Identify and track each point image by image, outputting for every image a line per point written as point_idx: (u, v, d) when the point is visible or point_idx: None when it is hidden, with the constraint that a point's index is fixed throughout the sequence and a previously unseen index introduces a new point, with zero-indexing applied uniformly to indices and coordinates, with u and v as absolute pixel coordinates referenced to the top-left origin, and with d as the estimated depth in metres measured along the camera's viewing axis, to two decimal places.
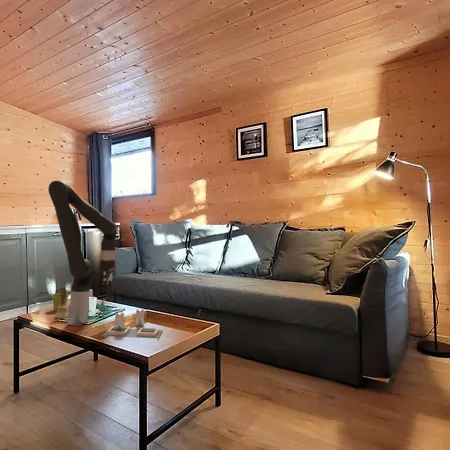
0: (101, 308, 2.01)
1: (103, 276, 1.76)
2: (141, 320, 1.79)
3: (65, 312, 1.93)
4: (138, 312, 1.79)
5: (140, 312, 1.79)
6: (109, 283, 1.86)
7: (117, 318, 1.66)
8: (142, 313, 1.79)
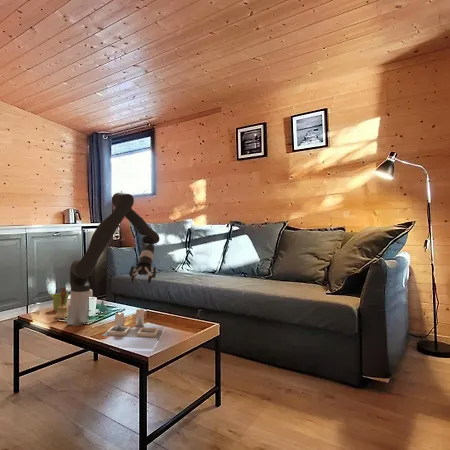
0: (101, 308, 2.01)
1: (155, 271, 1.97)
2: (141, 320, 1.79)
3: (65, 312, 1.93)
4: (138, 312, 1.79)
5: (140, 312, 1.79)
6: (134, 278, 1.94)
7: (117, 318, 1.66)
8: (142, 313, 1.79)
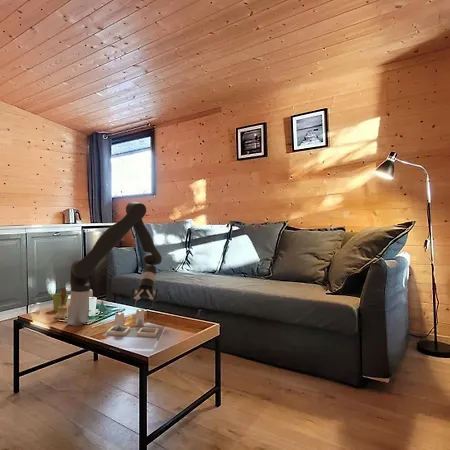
0: (101, 308, 2.00)
1: (157, 294, 1.90)
2: (141, 320, 1.79)
3: (65, 312, 1.93)
4: (138, 312, 1.79)
5: (140, 312, 1.79)
6: (135, 301, 1.87)
7: (117, 318, 1.66)
8: (142, 313, 1.79)
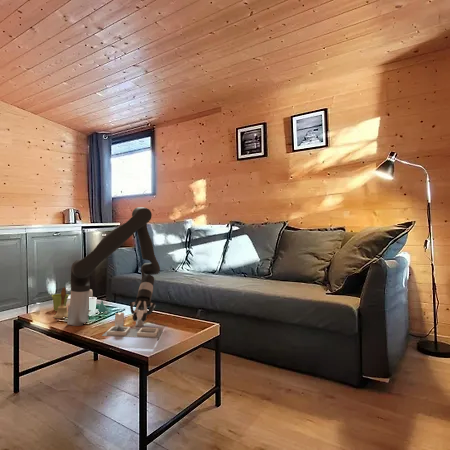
0: (100, 308, 2.00)
1: (153, 307, 1.84)
2: (141, 320, 1.79)
3: (65, 312, 1.93)
4: (138, 312, 1.79)
5: (140, 312, 1.79)
6: None
7: (117, 318, 1.66)
8: (142, 313, 1.79)
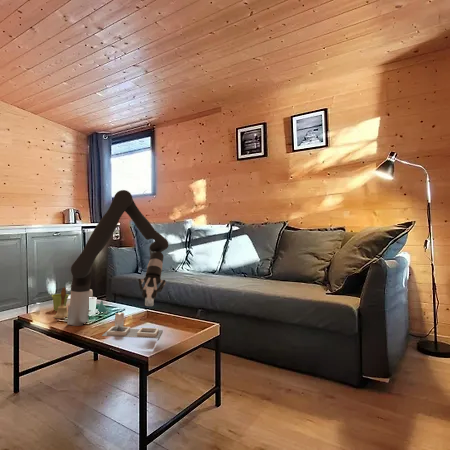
0: (100, 308, 2.00)
1: (163, 284, 1.73)
2: (151, 297, 1.68)
3: (65, 312, 1.93)
4: (148, 289, 1.68)
5: (150, 289, 1.68)
6: (145, 292, 1.70)
7: (117, 318, 1.66)
8: (152, 290, 1.69)
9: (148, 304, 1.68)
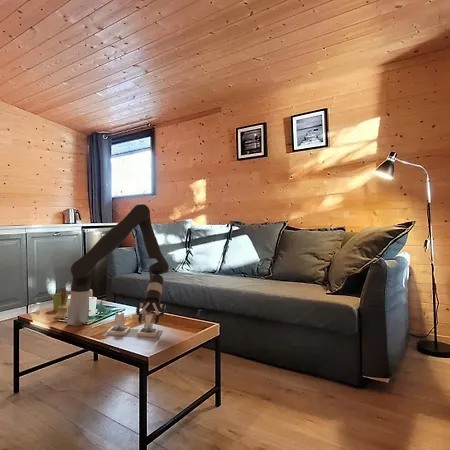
0: (100, 308, 2.00)
1: (164, 308, 1.72)
2: (150, 325, 1.66)
3: (65, 312, 1.93)
4: (147, 317, 1.66)
5: (149, 317, 1.66)
6: (142, 316, 1.68)
7: (117, 318, 1.66)
8: (151, 318, 1.67)
9: (147, 332, 1.66)
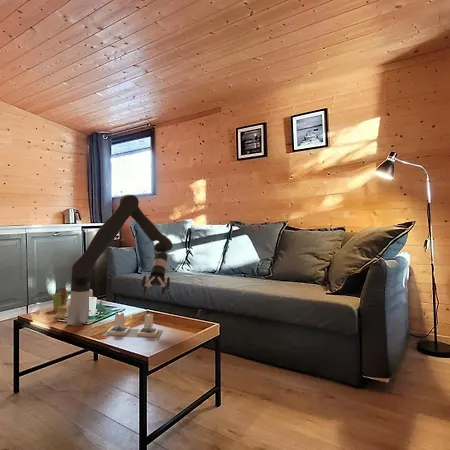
0: (99, 308, 1.99)
1: (169, 281, 1.83)
2: (150, 326, 1.66)
3: (65, 312, 1.93)
4: (147, 317, 1.66)
5: (149, 317, 1.66)
6: None
7: (117, 318, 1.66)
8: (151, 318, 1.67)
9: (147, 332, 1.66)
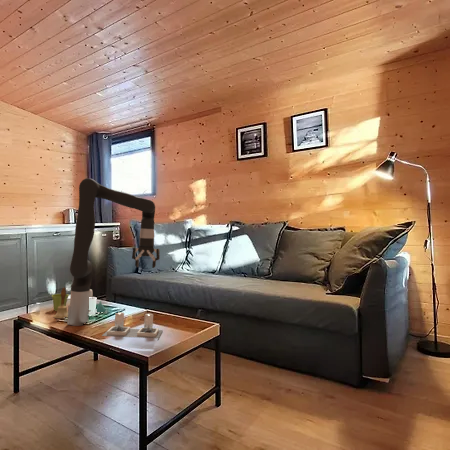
0: (99, 309, 1.99)
1: (158, 253, 1.88)
2: (150, 326, 1.66)
3: (65, 312, 1.93)
4: (147, 317, 1.66)
5: (149, 317, 1.66)
6: (138, 261, 1.88)
7: (117, 318, 1.66)
8: (151, 318, 1.66)
9: (147, 332, 1.66)
